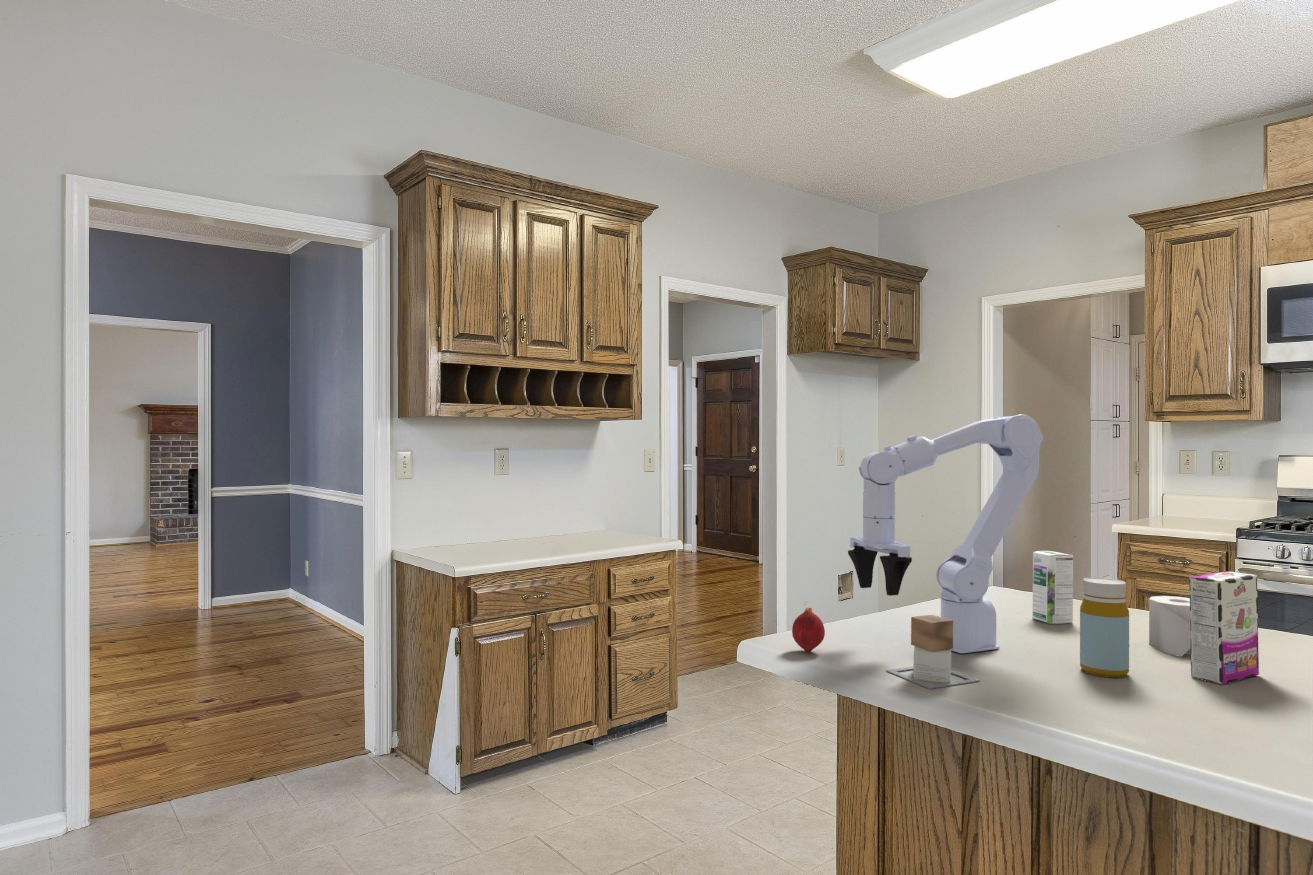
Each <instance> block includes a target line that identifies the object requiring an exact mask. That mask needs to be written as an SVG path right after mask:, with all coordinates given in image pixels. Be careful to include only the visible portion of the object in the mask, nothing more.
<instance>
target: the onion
mask: <svg viewBox="0 0 1313 875" xmlns="http://www.w3.org/2000/svg"><path fill="white" fill-rule="evenodd" d="M825 632H826V630H825V626H824V623H823V621H822V620H821V618H820V617H819V616H818V615H817V614H816V613H814V612H813V608H811V606H807V607H805V610H804V611H803V612H802V613H801V614H799V615H798V616H797V617H796V618H795V619H794V621H793V623H792V628H791V634H792V638H793V640H794V642H795V643H796V644H797V646H799V648H801V649H802V650H804V651H805V652H807V653H809V652H812V651H813V650H814V649H816V648H817V647H818V646H820V644H822V642H823V641H824V639H825V634H826V633H825Z"/></svg>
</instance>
